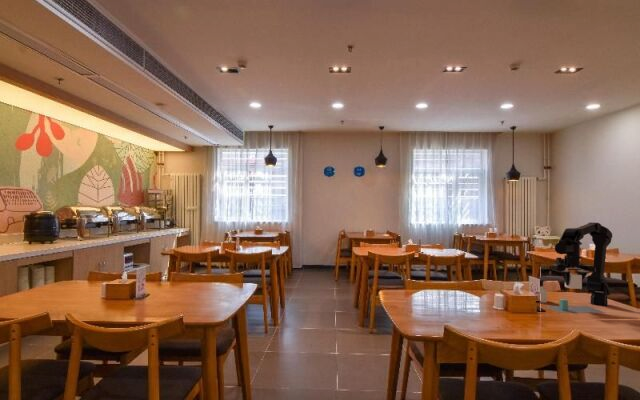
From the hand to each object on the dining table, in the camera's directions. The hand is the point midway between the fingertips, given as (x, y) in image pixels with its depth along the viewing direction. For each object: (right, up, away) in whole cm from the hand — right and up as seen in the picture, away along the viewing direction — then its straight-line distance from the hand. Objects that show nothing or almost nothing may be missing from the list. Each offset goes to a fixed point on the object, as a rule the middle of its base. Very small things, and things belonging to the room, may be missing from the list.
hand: (573, 285), depth 199 cm
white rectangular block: (0, -1, 0) cm, 1 cm away
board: (0, -12, -1) cm, 12 cm away
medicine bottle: (-8, -13, +18) cm, 24 cm away
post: (-6, -12, -3) cm, 14 cm away
